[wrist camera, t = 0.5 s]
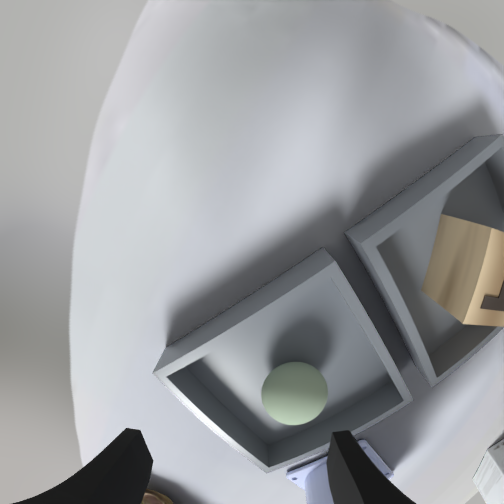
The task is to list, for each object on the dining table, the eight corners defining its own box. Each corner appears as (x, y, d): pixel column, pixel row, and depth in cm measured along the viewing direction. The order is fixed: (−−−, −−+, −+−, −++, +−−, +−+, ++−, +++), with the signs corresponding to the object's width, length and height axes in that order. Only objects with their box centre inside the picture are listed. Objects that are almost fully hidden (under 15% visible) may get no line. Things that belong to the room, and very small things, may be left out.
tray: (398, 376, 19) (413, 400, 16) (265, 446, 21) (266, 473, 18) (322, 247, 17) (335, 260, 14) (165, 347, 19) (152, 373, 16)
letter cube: (490, 230, 16) (539, 247, 11) (471, 298, 17) (514, 328, 12) (440, 213, 16) (493, 228, 11) (420, 290, 17) (463, 324, 12)
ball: (332, 378, 19) (345, 417, 15) (282, 404, 19) (285, 446, 15) (302, 338, 18) (312, 377, 14) (249, 369, 18) (246, 410, 15)
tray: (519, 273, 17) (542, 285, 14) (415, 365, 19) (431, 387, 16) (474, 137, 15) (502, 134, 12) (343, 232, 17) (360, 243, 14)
